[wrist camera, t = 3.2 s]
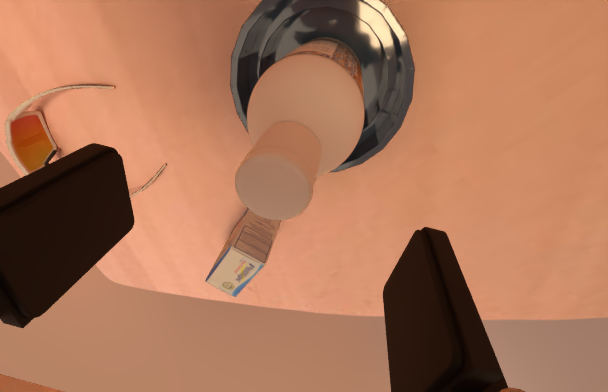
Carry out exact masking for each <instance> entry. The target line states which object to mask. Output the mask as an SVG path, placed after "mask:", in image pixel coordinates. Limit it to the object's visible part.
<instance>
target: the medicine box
mask: <svg viewBox="0 0 608 392" xmlns="http://www.w3.org/2000/svg"><path fill="white" fill-rule="evenodd" d="M280 221H281V220H270V219H266V218H263V217H261V216H258V215H257V214H255V213H253V212H252V211H251V210H249V209H248V210H247V211H246V213H245V214H244V216H243V217H242V219H241V220H240V222H239V223H238V224H237V226H236V227H235V229H234V230H233V232H232V233H231V235H230V236H229V238H228V240H227V242H226V243H225V245H224V247H223V249H222V251H221V253H220V254H219V256H218V258H217V260H216V262H215V264H214V265H213V267H212V269H211V271H210V273H209V275H208V277H207V278H206V282H207V283H208V284H210V285H212V286H214V287H216V288H217V289H219V290H221V291H223V292H225V293H227V294H229V295H232V296H234V297H236V296H237V295H238V294H239V293H240V291H241V290H242V289H243V288H244V287H245V286H246V285H247V284H248V283H249V282H250V281H251V279H252V278H253V277H254V276H255V275H256V274H257V273H258V272H259V271H260V270H261V269H262V268H263V267H264V266H265V265H266V262H267V260H268V257H269V254H270V251H271V248H272V245H273V242H274V239H275V236H276V233H277V231H278V227H279V224H280Z"/></svg>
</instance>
